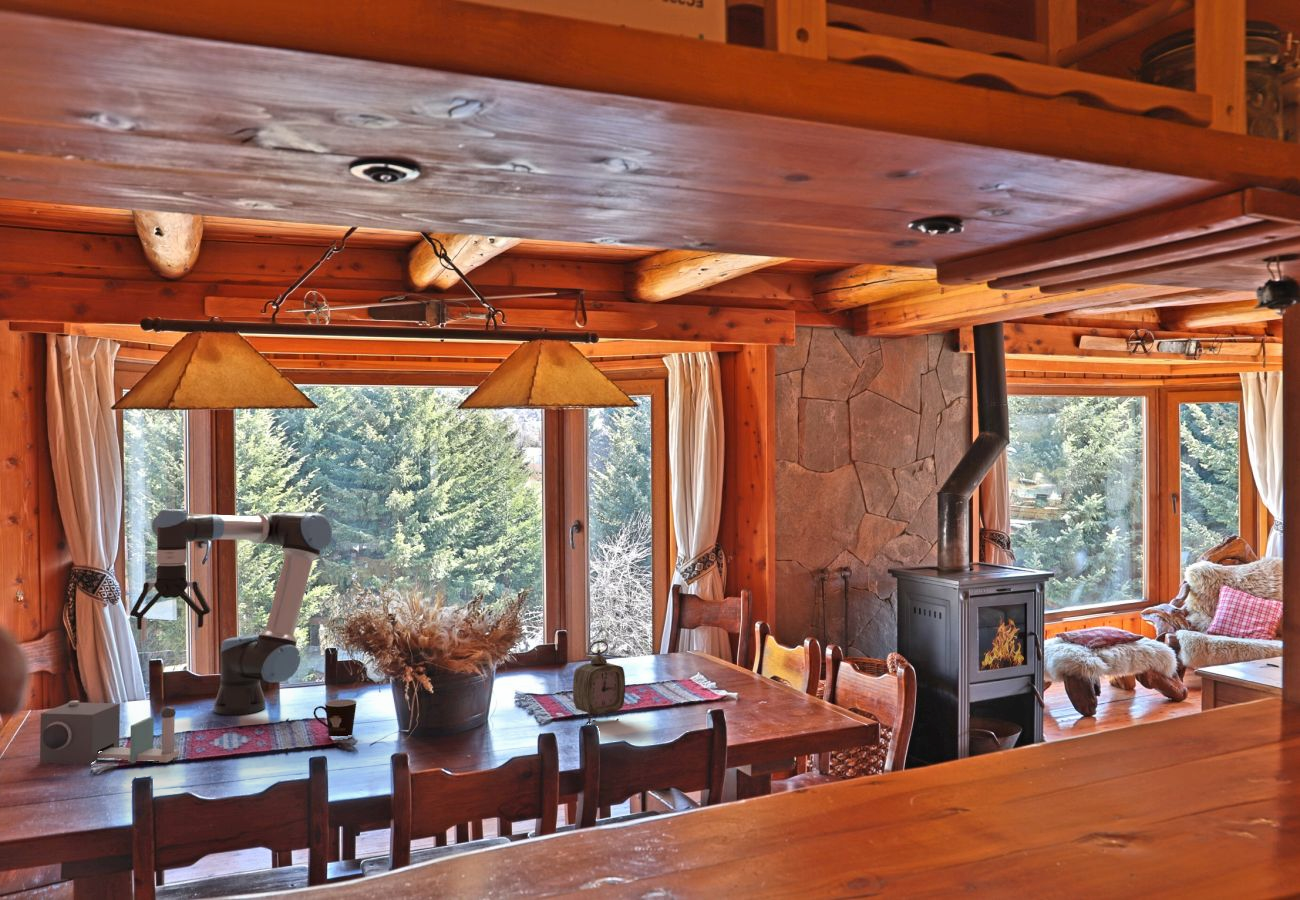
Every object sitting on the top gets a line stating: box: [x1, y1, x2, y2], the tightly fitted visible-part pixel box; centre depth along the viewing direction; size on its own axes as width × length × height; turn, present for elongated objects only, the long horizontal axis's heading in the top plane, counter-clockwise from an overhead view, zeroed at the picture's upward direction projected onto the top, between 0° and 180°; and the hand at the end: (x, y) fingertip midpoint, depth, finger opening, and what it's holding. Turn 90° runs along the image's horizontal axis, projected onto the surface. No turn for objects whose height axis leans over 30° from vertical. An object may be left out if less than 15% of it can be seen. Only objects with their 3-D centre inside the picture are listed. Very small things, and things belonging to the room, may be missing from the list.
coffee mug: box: [313, 698, 357, 737], centre depth 288 cm, size 12×9×10 cm
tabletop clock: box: [572, 640, 626, 725], centre depth 307 cm, size 14×9×25 cm, turn 131°
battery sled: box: [98, 706, 180, 763], centre depth 265 cm, size 19×9×14 cm, turn 87°
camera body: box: [39, 700, 121, 766], centre depth 264 cm, size 14×14×14 cm
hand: (170, 640), depth 280 cm, fingers open, 13 cm apart
